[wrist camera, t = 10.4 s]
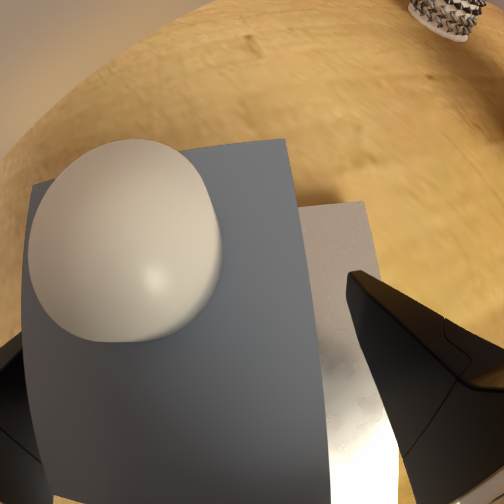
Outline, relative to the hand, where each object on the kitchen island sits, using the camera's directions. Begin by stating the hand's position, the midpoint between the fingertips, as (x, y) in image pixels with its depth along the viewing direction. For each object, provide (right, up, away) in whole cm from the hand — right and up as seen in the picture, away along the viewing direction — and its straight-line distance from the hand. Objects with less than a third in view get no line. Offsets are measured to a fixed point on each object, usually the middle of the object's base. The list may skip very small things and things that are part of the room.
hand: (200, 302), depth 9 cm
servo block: (0, -3, +7) cm, 8 cm away
